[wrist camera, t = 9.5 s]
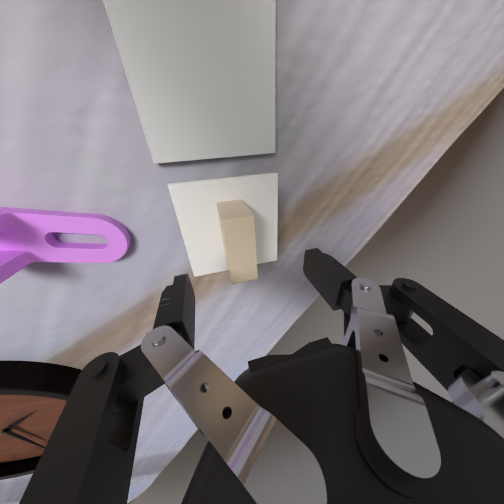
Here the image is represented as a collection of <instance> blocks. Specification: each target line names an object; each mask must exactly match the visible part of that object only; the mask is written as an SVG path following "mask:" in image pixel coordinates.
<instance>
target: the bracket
mask: <svg viewBox="0 0 504 504" xmlns="http://www.w3.org/2000/svg"><path fill="white" fill-rule="evenodd" d="M53 232H62V233H83V234H99V235H102V236H104V237H105V238H106V239H107V240H108V244H89V243H64V242H61V241H59V240H57V239H56V238H55V237H54V236H53ZM130 243H131V239H130V235H129V232H128V231H127V229H126V228H125V227H124V226H123V225H122V224H121V223H120V222H118V221H117V220H115V219H113V218H111V217H108V216H105V215H100V214H87V213H74V212H61V211H47V210H34V209H20V208H7V207H0V283H2V282H3V281H5V280H6V279H8V278H9V277H11V276H12V275H14V274H15V273H16V272H18V271H19V270H21V269H22V268H24V267H25V266H27V265H28V264H31V263H34V262H89V263H107V262H113V261H116V260H118V259H120V258H121V257H122V256H123V255H124V254H125V253H126V251H127V250H128V248H129V246H130Z"/></svg>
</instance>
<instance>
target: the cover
mask: <svg viewBox="0 0 504 504" xmlns="http://www.w3.org/2000/svg"><path fill="white" fill-rule="evenodd" d="M168 188H169V191H170V194H171V198H172V201H173V205H174V208H175V212H176V215H177V218H178V222H179V225H180V229H181V232H182V236H183V239H184V243H185V246H186V249H187V253H188V256H189V260H190V263H191V267H192V270H193V273H194V277H195V276H201V275H206V274H211V273H216V272H221V271H226V270H229V274H230V279H231V283H232V284H235V283H240V282H245V281H249V280H254V279H258V272H257V264H261V263H266V262H271V261H276V260H277V225H278V173H276V172H274V173H264V174H255V175H245V176H236V177H226V178H217V179H207V180H198V181H188V182H178V183H169V184H168Z"/></svg>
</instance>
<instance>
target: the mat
mask: <svg viewBox="0 0 504 504" xmlns="http://www.w3.org/2000/svg"><path fill="white" fill-rule="evenodd" d="M103 3H104V6H105V9H106V12H107V15H108V19H109V22H110V25H111V28H112V31H113V34H114V38H115V41H116V44H117V47H118V50H119V54H120V57H121V60H122V63H123V66H124V69H125V73H126V76H127V79H128V82H129V85H130V89H131V92H132V95H133V98H134V101H135V104H136V108H137V111H138V114H139V117H140V120H141V124H142V127H143V130H144V133H145V136H146V139H147V143H148V146H149V149H150V152H151V155H152V158H153V162H154V164H156V163H167V162H178V161H190V160H201V159H212V158H223V157H235V156H246V155H257V154H268V153H275V61H276V0H103Z"/></svg>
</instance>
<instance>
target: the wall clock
mask: <svg viewBox="0 0 504 504" xmlns="http://www.w3.org/2000/svg"><path fill="white" fill-rule="evenodd" d="M81 371H82V370H80V369H76V368H72V367H68V366H63V365H57V364H51V363H43V362H31V361H0V480H3V479H9V478H14V477H19V476H23V475H28V474H32V473H34V471H35V469H36V466H37V464H38V462H39V460H40V458H41V456H42V454H43V451H44V449H45V447H46V445H47V443H48V441H49V438H50V436H51V434H52V432H53V430H54V428H55V426H56V423H57V421H58V419H59V417H60V415H61V413H62V411H63V408H64V406H65V404H66V402H67V400H68V398H69V395H70V393H71V391H72V389H73V387H74V385H75V383H76V380H77V378H78V376H79V374H80V373H81Z"/></svg>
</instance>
